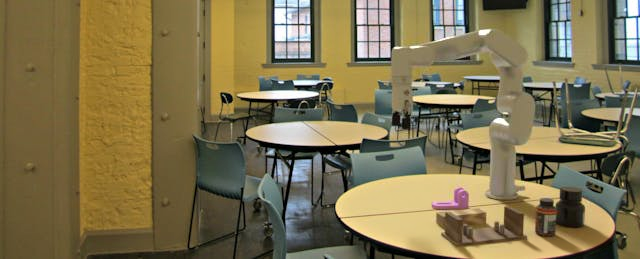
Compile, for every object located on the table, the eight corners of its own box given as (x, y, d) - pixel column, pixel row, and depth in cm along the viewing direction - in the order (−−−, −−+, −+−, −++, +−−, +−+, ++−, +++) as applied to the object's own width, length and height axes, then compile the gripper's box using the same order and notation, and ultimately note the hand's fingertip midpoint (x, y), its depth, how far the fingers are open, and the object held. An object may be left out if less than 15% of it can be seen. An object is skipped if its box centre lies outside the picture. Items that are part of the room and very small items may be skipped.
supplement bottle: (531, 231, 165) (532, 197, 163) (548, 230, 165) (550, 196, 163) (540, 237, 159) (542, 202, 157) (559, 236, 159) (561, 201, 158)
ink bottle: (591, 227, 167) (593, 192, 165) (567, 229, 165) (569, 193, 164) (570, 218, 177) (572, 184, 175) (548, 220, 175) (550, 186, 173)
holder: (507, 227, 168) (508, 205, 167) (526, 238, 158) (528, 214, 157) (441, 235, 162) (441, 211, 161) (456, 246, 152) (457, 221, 151)
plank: (478, 219, 178) (478, 208, 177) (485, 223, 173) (486, 212, 172) (436, 223, 174) (436, 212, 173) (443, 228, 169) (443, 216, 169)
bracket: (463, 204, 195) (463, 186, 194) (468, 208, 190) (468, 190, 189) (429, 205, 194) (430, 187, 193) (433, 209, 189) (434, 191, 188)
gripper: (420, 81, 179) (420, 130, 181) (402, 79, 196) (401, 123, 198) (400, 82, 177) (400, 131, 180) (383, 80, 194) (383, 124, 196)
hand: (400, 127), depth 189 cm, fingers open, 9 cm apart
